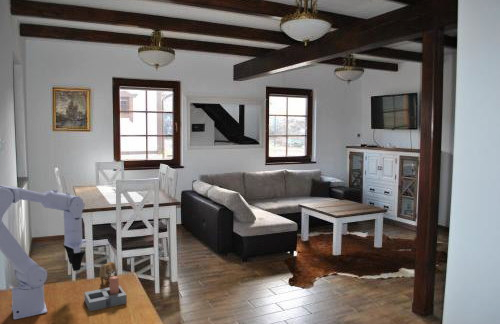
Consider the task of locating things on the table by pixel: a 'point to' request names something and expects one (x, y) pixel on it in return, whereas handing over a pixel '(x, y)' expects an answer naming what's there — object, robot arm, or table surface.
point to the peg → (114, 285)
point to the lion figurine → (107, 272)
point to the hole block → (104, 298)
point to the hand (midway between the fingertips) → (74, 266)
